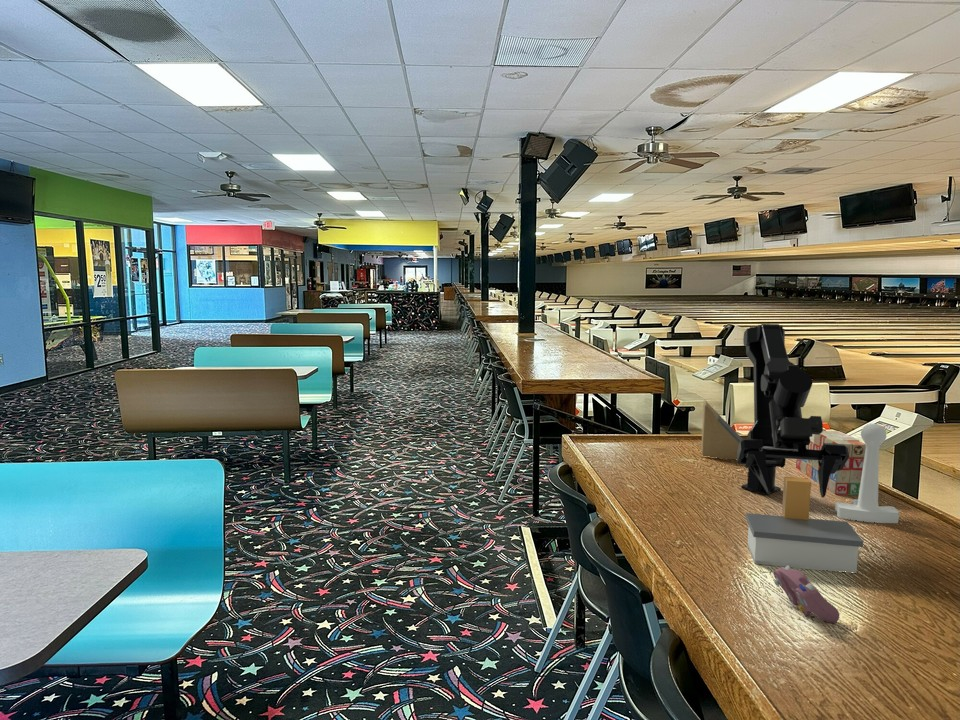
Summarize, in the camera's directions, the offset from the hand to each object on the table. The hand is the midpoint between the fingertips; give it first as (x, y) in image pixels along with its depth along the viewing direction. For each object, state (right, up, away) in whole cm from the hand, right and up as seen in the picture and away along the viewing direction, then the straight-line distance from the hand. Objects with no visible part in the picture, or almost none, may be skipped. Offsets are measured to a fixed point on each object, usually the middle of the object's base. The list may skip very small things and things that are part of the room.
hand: (796, 494), depth 120 cm
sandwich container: (+12, -2, +62) cm, 63 cm away
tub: (-1, -11, -4) cm, 11 cm away
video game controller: (-9, -13, -21) cm, 26 cm away
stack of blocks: (+27, -5, +40) cm, 49 cm away
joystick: (+23, -8, +17) cm, 29 cm away
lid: (-1, -6, -5) cm, 8 cm away
